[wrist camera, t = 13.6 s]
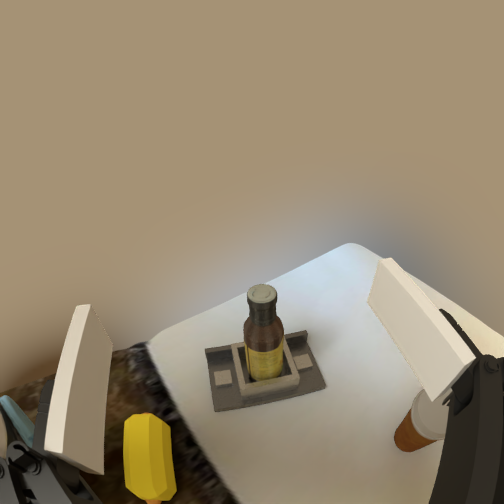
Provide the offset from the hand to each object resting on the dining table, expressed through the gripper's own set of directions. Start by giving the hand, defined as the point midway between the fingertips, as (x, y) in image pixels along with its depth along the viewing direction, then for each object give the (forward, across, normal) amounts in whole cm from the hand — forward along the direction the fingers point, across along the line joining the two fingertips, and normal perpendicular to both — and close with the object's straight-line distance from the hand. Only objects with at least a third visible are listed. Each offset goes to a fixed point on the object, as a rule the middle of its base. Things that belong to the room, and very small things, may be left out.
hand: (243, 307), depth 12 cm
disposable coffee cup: (-4, +26, -38) cm, 46 cm away
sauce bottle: (+18, +6, -37) cm, 41 cm away
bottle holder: (+18, +5, -38) cm, 42 cm away
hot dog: (+4, -16, -38) cm, 42 cm away
